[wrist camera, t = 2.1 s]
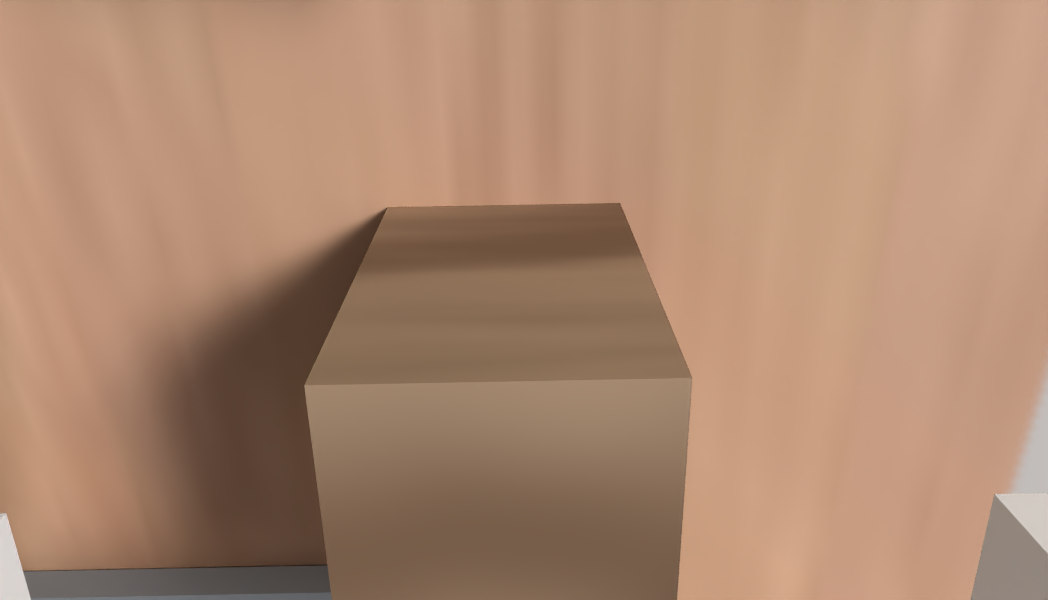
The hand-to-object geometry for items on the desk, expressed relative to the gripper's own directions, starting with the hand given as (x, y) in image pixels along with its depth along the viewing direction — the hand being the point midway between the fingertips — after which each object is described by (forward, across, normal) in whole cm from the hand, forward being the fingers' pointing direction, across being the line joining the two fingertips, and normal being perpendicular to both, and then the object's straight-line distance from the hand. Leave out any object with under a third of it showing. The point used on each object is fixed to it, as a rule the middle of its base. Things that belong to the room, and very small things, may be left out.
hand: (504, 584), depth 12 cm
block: (+8, 0, 0) cm, 9 cm away
